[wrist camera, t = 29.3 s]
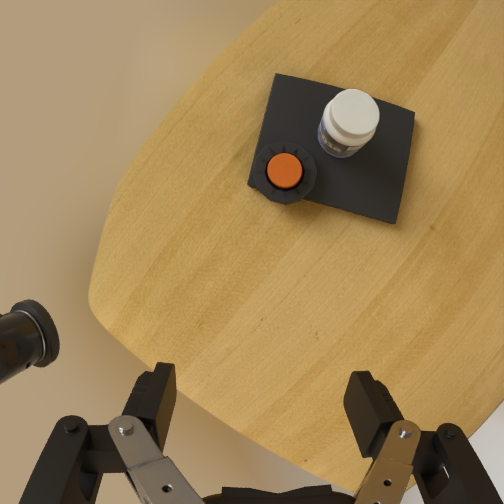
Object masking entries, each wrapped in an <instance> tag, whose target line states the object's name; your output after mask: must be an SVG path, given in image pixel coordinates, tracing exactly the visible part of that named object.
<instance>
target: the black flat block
mask: <svg viewBox="0 0 504 504" xmlns="http://www.w3.org/2000/svg"><path fill="white" fill-rule="evenodd" d="M344 90H346V89H343V88H339V87H335V86H331V85H327V84H323V83H319V82H315V81H311V80H306V79H302V78H297V77H292V76H287V75H282V74H277V73H276V74H275V77H274V80H273V84H272V88H271V92H270V96H269V100H268V104H267V107H266V111H265V115H264V119H263V123H262V127H261V131H260V135H259V139H258V143H257V147H256V151H255V155H254V159H253V163H252V167H251V171H250V175H249V179H248V183H247V185H248V186H250V187H254V188H257V189H258V190H259V191H260V192H261V193H262V194H263V195H264V196H265V197H266V198H268V199H269V200H270V201H273V202H277V203H281V204H285V205H286V204H291V203H294V202H298V201H301V200H302V199H304V200H308V201H312V202H316V203H319V204H323V205H327V206H331V207H334V208H338V209H342V210H345V211H349V212H352V213H356V214H359V215H363V216H366V217H370V218H373V219H377V220H380V221H383V222H387V223H390V224H396V219H397V215H398V211H399V206H400V201H401V197H402V192H403V187H404V181H405V176H406V171H407V165H408V159H409V153H410V146H411V140H412V132H413V125H414V117H415V112H413V111H410V110H407V109H405V108H402V107H399V106H397V105H394V104H391V103H388V102H385V101H382V100H379V99H376V98H373V97H372V98H373V100H374V101H375V102H376V104H377V106H378V109H379V122H378V124H377V126H376V130H375V133H374V135H373V136H372V138H371V139H370V140H369V141H368V142H367V143H366V144H365V145H364V146H362V147H361V148H360V149H359V150H358V151H357V152H356V153H354V154H353V155H351V156H348V157H343V158H342V157H335V156H333V155H330V154H329V153H327V152H326V151H325V150H324V149H323V148H322V146H321V144H320V142H319V139H318V128H319V125H320V122H321V119H322V116H323V113H324V110H325V108H326V106H327V104H328V103H329V102H330V101H331V100H332V99H334V98H335V96H336V95H337V94H339V93H340V92H342V91H344ZM281 153H288V154H291V155H293V156H295V157H296V158H297V159H298V160H299V161H300V163H301V166H302V174H301V178H300V180H299V182H298V183H297V184H296V185H294V186H293V187H290V188H280V187H278V186H276V185H275V184H273V183H272V181H271V180H270V178H269V176H268V171H267V169H268V164H269V162H270V160H271V159H272V158H273V157H274V156H276V155H278V154H281Z"/></svg>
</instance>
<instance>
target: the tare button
mask: <svg viewBox="0 0 504 504" xmlns="http://www.w3.org/2000/svg"><path fill="white" fill-rule="evenodd" d="M267 171H268V176H269V178H270V180H271V181H272V183H273V184H275V185H276V186H278V187H280V188H290V187H293V186H294V185H296V184H297V183H298V182H299V180H300V178H301V174H302V166H301V163H300V161H299V160H298V159H297V158H296V157H295V156H293V155H291V154H288V153H281V154H278V155H276V156H274V157H273V158H272V159H271V160H270V162H269V164H268V169H267Z"/></svg>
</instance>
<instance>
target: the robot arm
mask: <svg viewBox="0 0 504 504" xmlns="http://www.w3.org/2000/svg"><path fill="white" fill-rule="evenodd" d="M46 352H47V343H46V338H45V335H44V332H43V330H42V327H41V326H40V324H39V322H38V321H37V319H36V318H35V317H34V316H33V315H32V314H31V313H30V312H28V311H26V310H18V311H16V312H14V311H12V312H9V313H6V314H4V315H1V314H0V384H2V383H3V382H5V381H7V380H8V379H10V378H12V377H13V376H15V375H17V374H18V373H20V372H21V371H23V370H25V369H27V368H28V367H31V366H32V365H33V364H35V363H37V362H39V361H41V360H43V359H44V358H45V356H46ZM176 393H177V390H176V375H175V365H174V364H171V363H163V362H157V364H156V367H155V369H154V372H148V371H145V372H144V373H143V374H142V375H141V376H139V377H138V379H137V381H136V383H135V387H134V388H133V390H132V393H131V394H130V397H129V399H128V401H127V403H126V406H125V408H124V410H123V412H122V415H121V416H119V417H116V418H114V419H113V420H112V421H111V422H110V423H109V424H108V425H88V424H87V422H86V421H85V420H84V419H83V418H81V417H79V416H74V415H70V416H65V417H63V418H61V419H60V420H59V421H58V422H57V423H56V425H55V427H54V429H53V431H52V433H51V435H50V437H49V439H48V441H47V443H46V445H45V447H44V449H43V451H42V453H41V455H40V457H39V460H38V461H37V463H36V466H35V468H34V470H33V472H32V474H31V476H30V479H29V481H28V483H27V485H26V488H25V490H24V492H23V495H22V497H21V499H20V502H19V504H95V501H96V497H97V494H98V490H99V487H100V483H101V480H102V476H103V473H123V472H124V474H125V475H126V477H127V479H128V481H129V483H130V484H131V486H132V488H133V490H134V491H135V493H136V495H137V496H138V498H139V500H140V501H141V503H142V504H400V502H401V500H402V497H403V495H404V492H405V490H406V487H407V484H408V482H409V479H410V476H411V474H413V475H414V477H415V480H416V483H417V485H418V488H419V491H420V493H421V496H422V498H423V501H424V504H503V502H502V500H501V498H500V496H499V494H498V492H497V490H496V488H495V487H494V485H493V483H492V481H491V479H490V477H489V476H488V474H487V472H486V470H485V469H484V467H483V465H482V463H481V461H480V460H479V458H478V456H477V454H476V453H475V451H474V449H473V448H472V446H471V445H470V443H469V441H468V439H467V438H466V436H465V434H464V433H463V431H462V430H461V428H460V427H458V426H457V425H455V424H452V423H444V424H442V425H440V426H439V427H438V429H437V431H421V430H420V428H419V427H418V426H417V425H416V424H415V423H413V422H411V421H408V420H405V419H404V417H403V416H402V414H401V412H400V410H399V409H398V407H397V405H396V403H395V402H394V401H393V398H392V396H391V395H390V393H389V391H388V389H387V388H386V386H385V385H383V384H382V383H381V382H380V381H379V380H375V381H374V379H373V377H372V375H371V373H370V372H369V371H353V372H352V373H351V376H350V379H349V382H348V386H347V389H346V392H345V395H344V401H343V403H344V409H345V411H346V414H347V417H348V419H349V422H350V425H351V427H352V430H353V433H354V436H355V438H356V441H357V444H358V446H359V449H360V452H361V455H362V457H363V458H367V457H372V459H373V462H372V463H371V465H370V467H369V469H368V471H367V473H366V475H365V477H364V478H363V480H362V482H361V484H360V486H359V488H358V489H357V491H356V493H355V494H354V496H353V497H352V496H350V495H347V494H344V493H340V492H335V491H332V488H331V485H321V486H310V487H303V488H299V489H295V490H291V491H288V492H284V493H272V492H267V491H261V490H256V489H252V488H233V487H222V493H221V494H215V495H211V496H207V497H204V498H202V499H201V498H200V496H199V495H198V494H197V493H196V492H195V490H194V489H193V488H192V487H191V485H190V484H189V483H188V481H187V480H186V479H185V477H184V476H183V475H182V474H181V472H180V471H179V470H178V468H177V467H176V466H175V464H174V463H173V461H172V460H171V459H170V458H169V457H168V456H166V457H165V456H164V455H163V454H162V453H163V449H164V445H165V441H166V437H167V433H168V429H169V425H170V421H171V417H172V414H173V410H174V406H175V402H176ZM444 466H445V469H446V471H447V473H448V475H449V478H448V476H447V474H446V472H445V470H444V468H443V467H444Z"/></svg>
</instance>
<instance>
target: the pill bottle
mask: <svg viewBox="0 0 504 504" xmlns="http://www.w3.org/2000/svg"><path fill="white" fill-rule="evenodd" d="M378 122H379V109H378V106H377V104H376V102H375V101H374V100H373V98H372V97H370V96H369V95H368V94H366V93H365V92H363V91H360V90H356V89H348V90H344V91H342V92H340V93H339V94H337V95H336V96H335V98H334V99H332V100H331V101H330V102H329V103H328V104H327V106H326V108H325V110H324V113H323V116H322V119H321V122H320V125H319V128H318V139H319V142H320V144H321V146H322V148H323V149H324V150H325V151H326V152H327V153H329V154H330V155H333V156H335V157H342V158H343V157H348V156H351V155H353V154H354V153H356V152H357V151H358V150H359V149H360V148H361V147H362V146H364V145H365V144H366V143H367V142H368V141H369V140H370V139H371V138H372V136H373V135H374V133H375V130H376V126H377V124H378Z"/></svg>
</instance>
